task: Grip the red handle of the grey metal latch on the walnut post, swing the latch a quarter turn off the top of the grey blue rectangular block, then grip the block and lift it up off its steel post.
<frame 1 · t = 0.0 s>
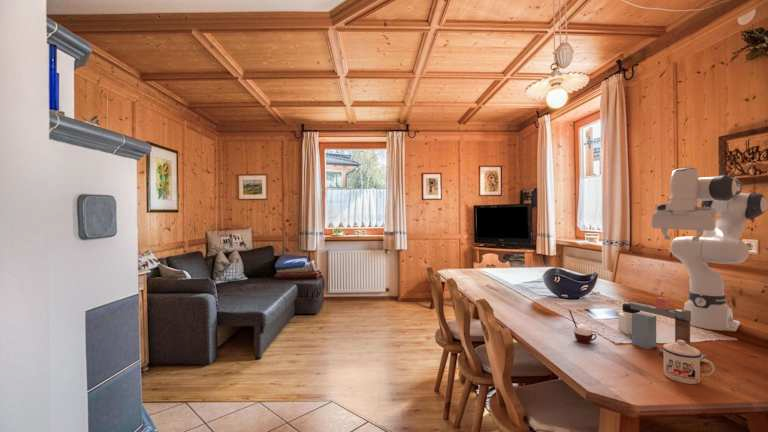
hand: (681, 240, 140), 39 cm above the table, tool pointing down, fingers open, 8 cm apart
latch: (659, 305, 127), point 17 cm above the table, hinge at 0.0°
grey blue rectangular block: (643, 345, 132), on the table
brown and white cup: (582, 341, 137), on the table
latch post: (682, 357, 121), on the table
teacup with lid: (687, 379, 106), on the table
medicine bottle: (631, 332, 146), on the table
cap post: (643, 345, 132), on the table
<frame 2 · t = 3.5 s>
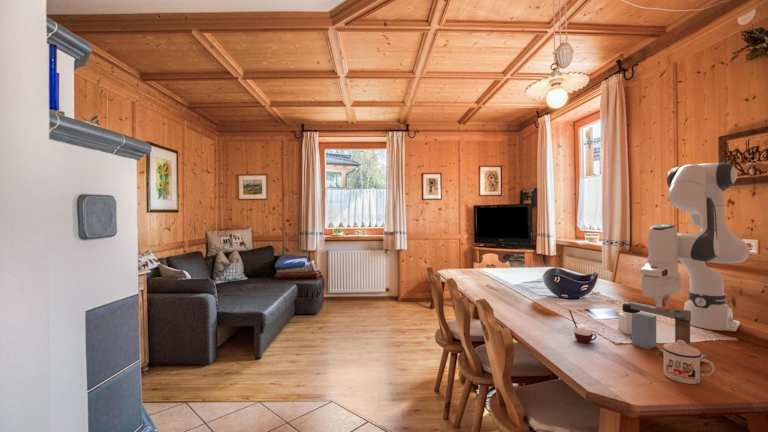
hand: (662, 306, 126), 17 cm above the table, tool pointing down, fingers closed on latch, 2 cm apart
latch: (659, 305, 127), point 16 cm above the table, hinge at 0.0°, touching gripper
everything else where it was.
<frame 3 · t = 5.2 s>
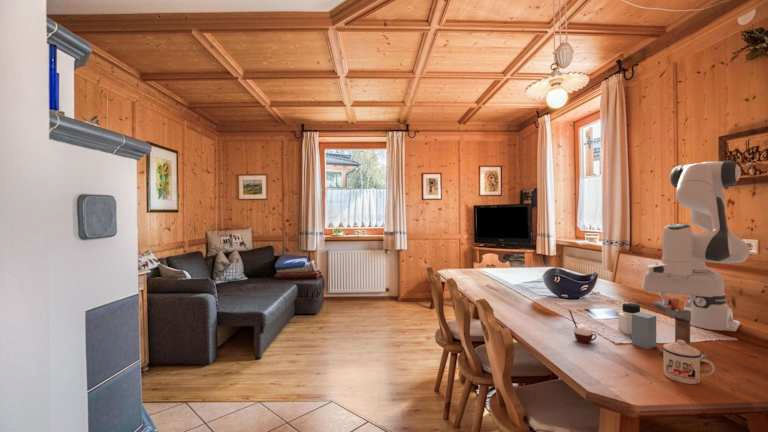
hand: (676, 306, 126), 17 cm above the table, tool pointing down, fingers open, 5 cm apart
latch: (671, 305, 127), point 16 cm above the table, hinge at -41.4°, touching gripper
everything else where it was.
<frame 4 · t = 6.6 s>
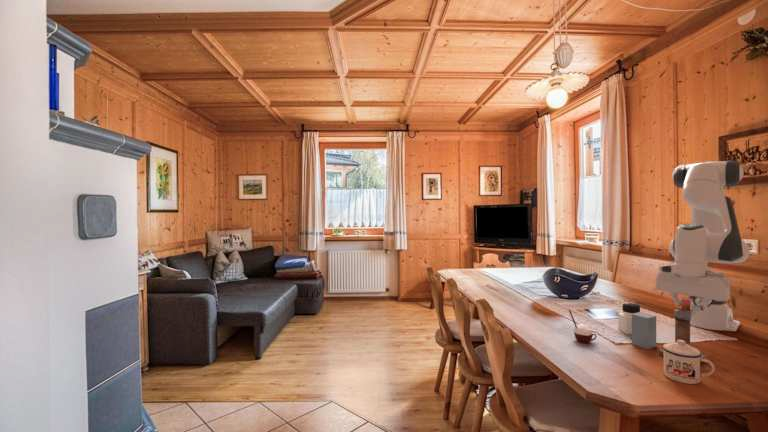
hand: (690, 307, 123), 17 cm above the table, tool pointing down, fingers open, 6 cm apart
latch: (687, 306, 125), point 17 cm above the table, hinge at -80.0°
everything else where it was.
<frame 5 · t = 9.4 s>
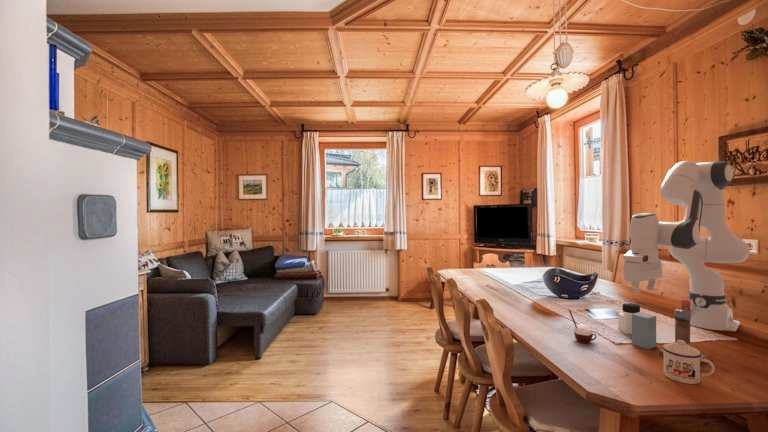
hand: (643, 291, 131), 21 cm above the table, tool pointing down, fingers open, 8 cm apart
nothing on the table moved.
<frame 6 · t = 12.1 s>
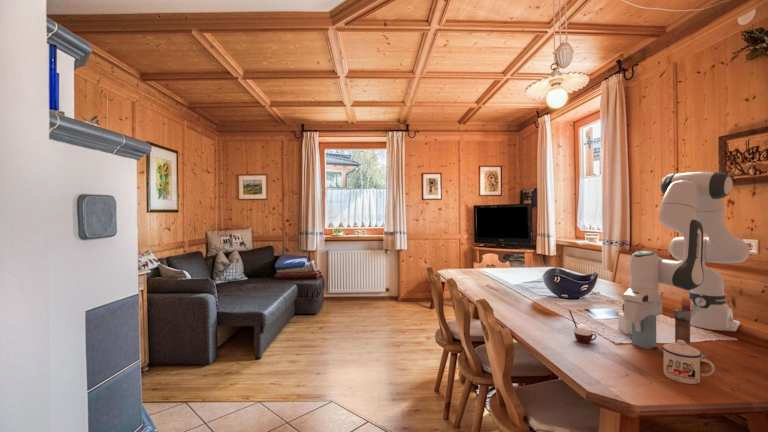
hand: (644, 329, 131), 6 cm above the table, tool pointing down, fingers closed on grey blue rectangular block, 6 cm apart
grey blue rectangular block: (643, 345, 132), on the table, touching gripper
everything else where it was.
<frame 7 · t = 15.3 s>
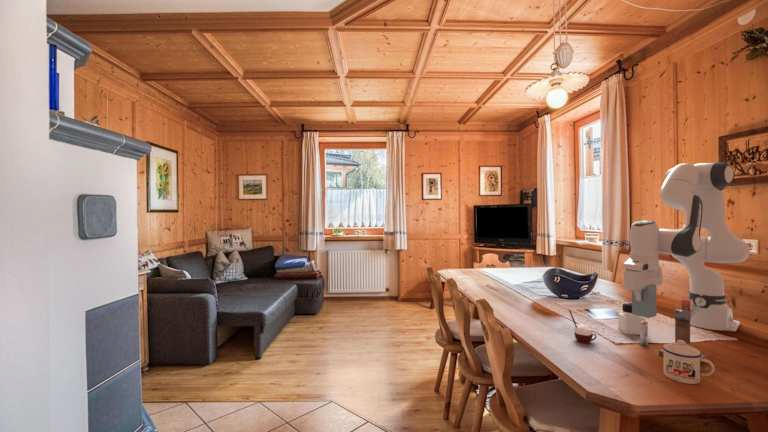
hand: (644, 299, 131), 18 cm above the table, tool pointing down, fingers closed on grey blue rectangular block, 6 cm apart
grey blue rectangular block: (644, 314, 132), point 12 cm above the table, touching gripper
everything else where it was.
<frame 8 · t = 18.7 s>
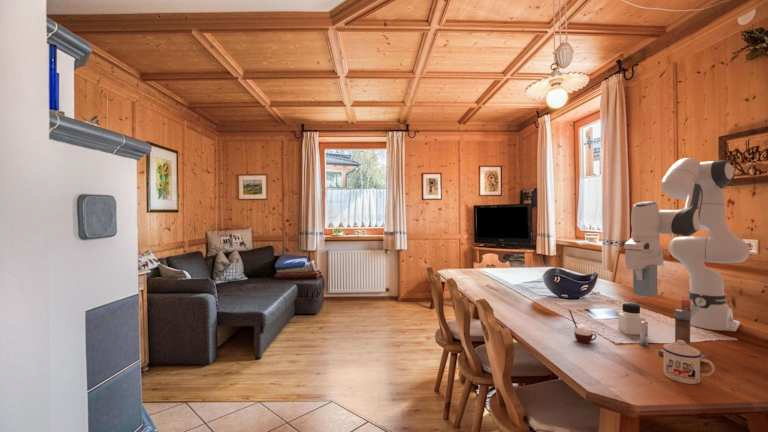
hand: (645, 278, 133), 25 cm above the table, tool pointing down, fingers closed on grey blue rectangular block, 6 cm apart
grey blue rectangular block: (645, 294, 133), point 19 cm above the table, touching gripper
everything else where it was.
at the end: latch at -80° (first picture: +0°); grey blue rectangular block point 19.0 cm above the table; the gripper is holding grey blue rectangular block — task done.
